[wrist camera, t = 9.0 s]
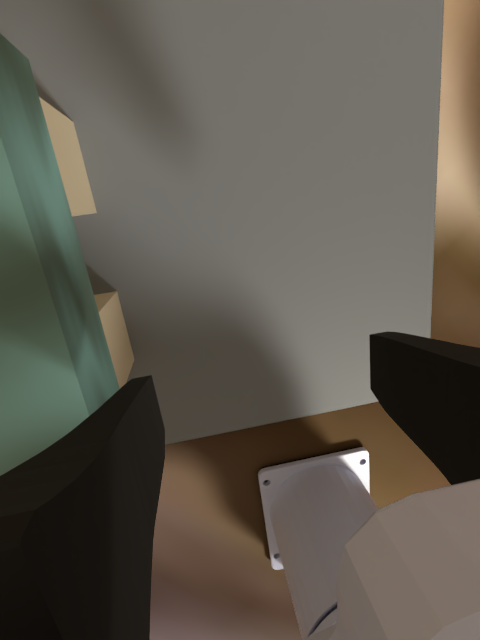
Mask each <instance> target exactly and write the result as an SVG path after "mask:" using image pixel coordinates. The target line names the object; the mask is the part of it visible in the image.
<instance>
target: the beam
mask: <svg viewBox="0 0 480 640" xmlns="http://www.w3.org/2000/svg"><path fill="white" fill-rule="evenodd" d="M119 389H120V388H119V384H118V381H117V377H116V373H115V370H114V366H113V363H112V359H111V355H110V352H109V348H108V345H107V341H106V337H105V334H104V330H103V326H102V323H101V319H100V316H99V312H98V308H97V305H96V301H95V298H94V294H93V290H92V287H91V283H90V279H89V276H88V272H87V269H86V265H85V261H84V258H83V254H82V251H81V247H80V243H79V240H78V236H77V232H76V229H75V225H74V222H73V218H72V214H71V211H70V207H69V203H68V200H67V196H66V193H65V189H64V185H63V182H62V178H61V175H60V171H59V167H58V164H57V160H56V156H55V153H54V149H53V146H52V142H51V138H50V135H49V131H48V128H47V124H46V120H45V117H44V113H43V109H42V106H41V102H40V99H39V95H38V91H37V88H36V84H35V81H34V77H33V73H32V70H31V66H30V62H29V59H28V58H27V57H26V56H24V55H23V54H22V53H21V52H20V51H19V50H18V49H17V48H16V47H15V46H14V45H13V44H12V43H10V42H9V41H8V40H7V39H6V38H5V37H4V36H3V35H2V34H1V33H0V476H1V475H3V474H5V473H6V472H8V471H10V470H11V469H13V468H15V467H16V466H18V465H20V464H22V463H23V462H25V461H27V460H28V459H30V458H32V457H34V456H35V455H37V454H39V453H40V452H42V451H43V450H45V449H46V448H48V447H49V446H51V445H52V444H54V443H55V442H56V441H58V440H59V439H61V438H62V437H64V436H65V435H66V434H68V433H69V432H70V431H72V430H73V429H74V428H75V427H77V426H78V425H79V424H80V423H82V422H83V421H84V420H85V419H86V418H88V417H89V416H90V415H91V414H92V413H94V412H95V411H96V410H97V409H98V408H99V407H100V406H102V405H103V404H104V403H105V402H106V401H107V400H108V399H109V398H110V397H111V396H113V395H114V394H115V393H116V392H117V391H118V390H119Z"/></svg>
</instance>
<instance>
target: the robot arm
mask: <svg viewBox="0 0 480 640" xmlns="http://www.w3.org/2000/svg"><path fill="white" fill-rule="evenodd" d="M369 340H370V389H371V391H372V392H373V394H374V395H375V397H376V398H377V400H378V401H379V403H380V404H381V406H382V407H383V408H384V410H385V411H386V412H387V414H388V415H389V416H390V417H391V418H392V419H393V420H394V421H395V422H396V423H397V425H398V426H399V427H400V428H401V429H402V430H403V431H404V432H405V433H406V434H407V435H408V436H409V437H410V439H411V440H412V441H413V442H414V443H415V444H416V445H417V446H418V447H419V448H420V449H421V450H422V451H423V452H424V453H425V455H426V456H427V457H428V458H429V459H430V460H431V461H432V462H433V463H434V464H435V465H436V467H437V468H438V469H439V470H440V471H441V472H442V474H443V475H444V476H445V477H446V479H447V480H448V481H449V483H450V484H451V485H450V486H446V487H442V488H437V489H433V490H429V491H424V492H420V493H416V494H412V495H410V496H408V497H405V498H403V499H401V500H399V501H396V502H394V503H392V504H390V505H388V506H385V507H383V508H381V509H379V508H378V507H377V505H376V504H375V502H374V500H373V499H372V497H371V496H370V479H369V453H368V451H367V450H366V449H365V448H363V447H359V448H355V449H350V450H345V451H341V452H336V453H331V454H327V455H322V456H317V457H313V458H308V459H304V460H299V461H294V462H290V463H285V464H280V465H276V466H271V467H266V468H263V469H261V470H260V471H259V472H258V479H259V486H260V493H261V499H262V506H263V513H264V519H265V526H266V533H267V539H268V546H269V553H270V559H271V565H272V568H273V569H275V570H280V569H284V571H285V575H286V579H287V583H288V587H289V590H290V594H291V598H292V602H293V606H294V609H295V613H296V617H297V621H298V625H299V628H300V632H301V636H302V640H480V348H477V347H471V346H465V345H460V344H455V343H450V342H445V341H440V340H435V339H430V338H426V337H421V336H416V335H411V334H405V333H399V332H388V331H387V332H381V333H376V334H370V335H369ZM164 459H165V428H164V424H163V420H162V416H161V411H160V407H159V403H158V399H157V395H156V391H155V387H154V383H153V379H152V375H149V376H144V377H138V378H133V379H131V380H129V381H128V382H127V383H126V384H125V385H123V386H122V387H121V388H120V389H119V390H118V391H117V392H116V393H115V394H114V395H113V396H111V397H110V398H109V399H108V400H107V401H106V402H105V403H104V404H103V405H102V406H100V407H99V408H98V409H97V410H96V411H95V412H94V413H92V414H91V415H90V416H89V417H88V418H86V419H85V420H84V421H83V422H82V423H80V424H79V425H78V426H77V427H75V428H74V429H73V430H72V431H70V432H69V433H68V434H66V435H65V436H64V437H62V438H61V439H59V440H58V441H56V442H55V443H54V444H52V445H51V446H49V447H48V448H46V449H45V450H43V451H42V452H40V453H39V454H37V455H35V456H34V457H32V458H30V459H28V460H27V461H25V462H23V463H22V464H20V465H18V466H16V467H15V468H13V469H11V470H10V471H8V472H6V473H5V474H3V475H1V476H0V640H149V633H150V597H151V571H152V550H153V536H154V526H155V519H156V513H157V506H158V500H159V493H160V487H161V480H162V473H163V467H164ZM362 459H363V460H362ZM360 460H362V461H360ZM265 480H268V481H267V482H264V481H265Z"/></svg>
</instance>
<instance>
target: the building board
mask: <svg viewBox="0 0 480 640" xmlns="http://www.w3.org/2000/svg"><path fill="white" fill-rule="evenodd" d="M443 13H444V0H0V33H1V34H2V35H3V36H4V37H5V38H6V39H7V40H8V41H9V42H10V43H12V44H13V45H14V46H15V47H16V48H17V49H18V50H19V51H20V52H21V53H22V54H23V55H24V56H26V57H27V58H28V59H29V62H30V66H31V70H32V73H33V77H34V81H35V84H36V88H37V91H38V95H39V99H40V102H41V106H42V109H43V113H44V117H45V120H46V124H47V128H48V131H49V135H50V138H51V142H52V146H53V149H54V153H55V156H56V160H57V164H58V167H59V171H60V175H61V178H62V182H63V185H64V189H65V193H66V196H67V200H68V203H69V207H70V211H71V214H72V218H73V222H74V225H75V229H76V232H77V236H78V240H79V243H80V247H81V251H82V254H83V258H84V261H85V265H86V269H87V272H88V276H89V279H90V283H91V287H92V290H93V294H94V298H95V301H96V305H97V308H98V312H99V316H100V319H101V323H102V326H103V330H104V334H105V337H106V341H107V345H108V348H109V352H110V355H111V359H112V363H113V366H114V370H115V373H116V377H117V381H118V384H119V388H121V387H122V386H123V385H125V384H126V383H127V382H128V381H129V380H131V379H133V378H138V377H144V376H149V375H152V379H153V383H154V387H155V391H156V395H157V399H158V403H159V407H160V411H161V416H162V420H163V424H164V428H165V445H167V444H172V443H177V442H182V441H187V440H192V439H197V438H202V437H207V436H211V435H216V434H221V433H226V432H231V431H236V430H241V429H246V428H251V427H256V426H261V425H265V424H270V423H275V422H280V421H285V420H290V419H295V418H300V417H305V416H310V415H315V414H320V413H324V412H329V411H334V410H339V409H344V408H349V407H354V406H359V405H364V404H369V403H374V402H379V401H378V400H377V398H376V397H375V395H374V394H373V392H372V391H371V389H370V340H369V335H370V334H376V333H381V332H387V331H388V332H399V333H405V334H411V335H416V336H421V337H426V338H430V331H431V307H432V282H433V258H434V233H435V209H436V184H437V160H438V135H439V111H440V86H441V62H442V37H443Z"/></svg>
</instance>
